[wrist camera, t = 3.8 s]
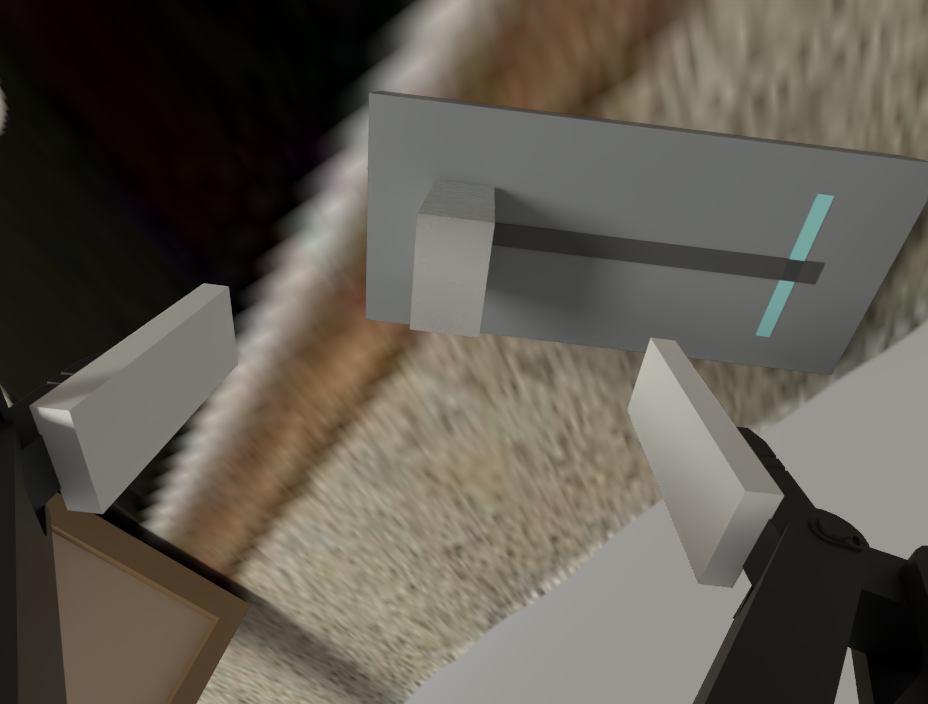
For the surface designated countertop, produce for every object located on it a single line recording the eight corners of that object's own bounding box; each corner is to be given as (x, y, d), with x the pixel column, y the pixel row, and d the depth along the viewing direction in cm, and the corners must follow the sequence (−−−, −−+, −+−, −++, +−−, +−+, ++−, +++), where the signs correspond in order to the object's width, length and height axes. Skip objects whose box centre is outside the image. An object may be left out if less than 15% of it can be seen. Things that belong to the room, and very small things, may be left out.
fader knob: (428, 272, 28) (409, 329, 22) (435, 179, 25) (417, 213, 19) (481, 279, 28) (478, 337, 22) (494, 186, 25) (495, 222, 19)
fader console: (376, 299, 32) (365, 319, 30) (381, 90, 27) (368, 93, 24) (804, 350, 33) (832, 375, 30) (902, 155, 27) (948, 165, 24)
